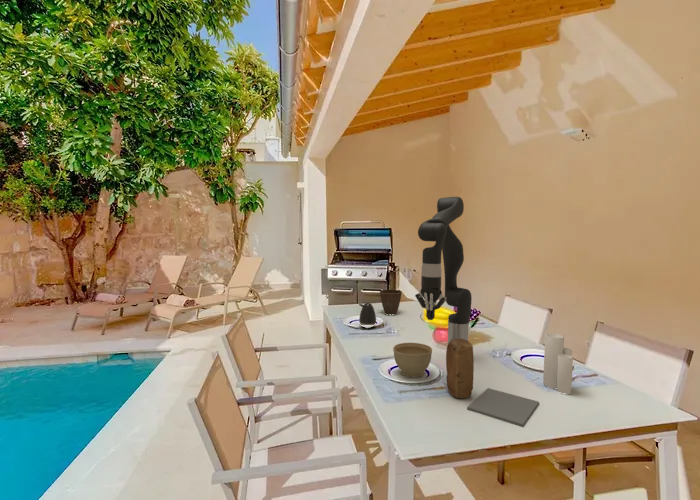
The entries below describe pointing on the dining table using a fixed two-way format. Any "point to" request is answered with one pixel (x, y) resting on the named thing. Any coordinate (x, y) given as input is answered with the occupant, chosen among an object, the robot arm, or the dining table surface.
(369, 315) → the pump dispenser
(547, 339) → the vase
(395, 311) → the plant pot
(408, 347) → the planter bowl
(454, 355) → the block
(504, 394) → the flat gray panel
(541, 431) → the dining table surface
